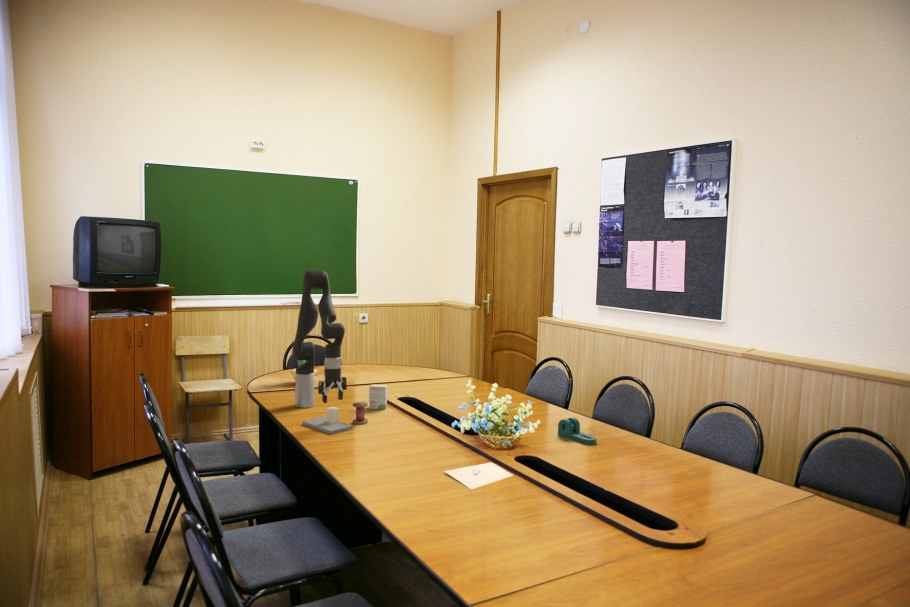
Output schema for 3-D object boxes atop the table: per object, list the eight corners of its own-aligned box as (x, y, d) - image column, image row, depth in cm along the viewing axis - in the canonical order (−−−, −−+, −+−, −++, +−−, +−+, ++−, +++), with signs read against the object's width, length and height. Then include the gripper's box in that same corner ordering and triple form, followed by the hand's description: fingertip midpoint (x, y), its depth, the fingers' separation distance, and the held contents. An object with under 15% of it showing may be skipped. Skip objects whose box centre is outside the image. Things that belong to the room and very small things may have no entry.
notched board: (302, 424, 277) (302, 421, 277) (324, 419, 286) (324, 416, 286) (331, 434, 262) (331, 431, 262) (352, 428, 271) (352, 425, 271)
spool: (349, 422, 282) (349, 403, 281) (361, 419, 287) (361, 400, 286) (358, 425, 277) (358, 406, 276) (370, 422, 282) (370, 403, 281)
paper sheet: (497, 463, 231) (497, 460, 231) (539, 493, 205) (539, 490, 205) (441, 471, 220) (441, 468, 220) (478, 504, 195) (479, 501, 194)
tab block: (326, 425, 276) (326, 408, 276) (333, 423, 279) (333, 406, 279) (331, 427, 274) (331, 410, 273) (339, 425, 276) (339, 408, 276)
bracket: (557, 435, 267) (558, 418, 267) (568, 432, 271) (568, 415, 271) (589, 446, 253) (589, 427, 252) (599, 443, 257) (600, 425, 256)
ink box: (368, 409, 306) (368, 386, 305) (371, 406, 311) (371, 384, 310) (385, 409, 305) (385, 386, 304) (387, 407, 310) (387, 384, 309)
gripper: (340, 363, 282) (340, 397, 283) (314, 367, 271) (314, 402, 273) (350, 365, 277) (350, 400, 278) (324, 370, 266) (324, 405, 268)
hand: (332, 401), depth 276 cm, fingers open, 8 cm apart
